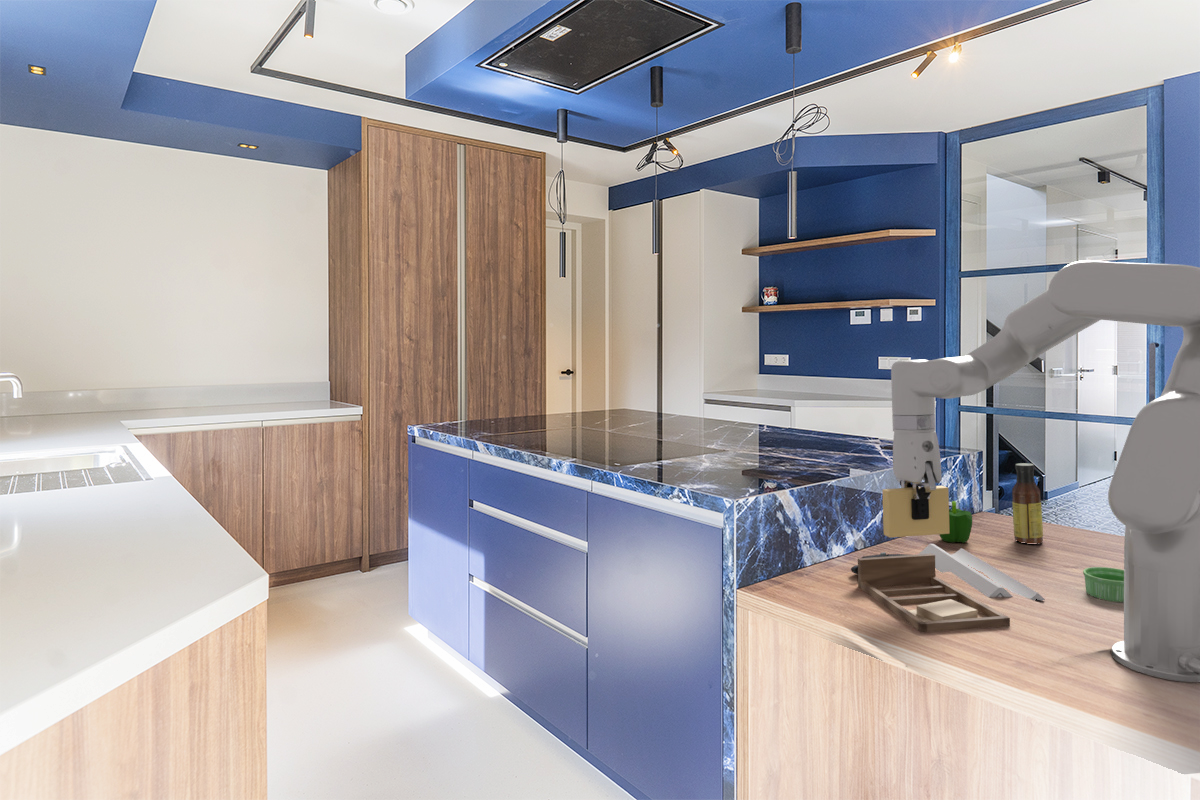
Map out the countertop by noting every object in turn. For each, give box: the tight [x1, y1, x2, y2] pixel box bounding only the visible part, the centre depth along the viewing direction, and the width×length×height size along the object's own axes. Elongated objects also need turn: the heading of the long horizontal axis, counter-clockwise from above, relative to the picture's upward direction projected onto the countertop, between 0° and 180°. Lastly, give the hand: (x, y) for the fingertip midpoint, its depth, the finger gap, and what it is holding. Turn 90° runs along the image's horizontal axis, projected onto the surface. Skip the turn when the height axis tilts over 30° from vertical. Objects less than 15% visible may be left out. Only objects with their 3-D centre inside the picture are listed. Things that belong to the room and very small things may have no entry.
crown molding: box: [918, 543, 1045, 601], centre depth 147 cm, size 31×12×4 cm, turn 177°
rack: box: [857, 553, 1011, 633], centre depth 129 cm, size 24×16×7 cm, turn 4°
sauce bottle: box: [1011, 462, 1044, 544], centre depth 170 cm, size 7×6×20 cm
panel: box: [881, 485, 950, 538], centre depth 132 cm, size 2×12×9 cm, turn 94°
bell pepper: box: [938, 500, 973, 543], centre depth 174 cm, size 8×8×10 cm
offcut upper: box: [916, 599, 979, 621], centre depth 123 cm, size 6×8×2 cm
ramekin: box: [1082, 566, 1124, 603], centre depth 133 cm, size 9×9×4 cm
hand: (916, 516), depth 132 cm, fingers closed on panel, 2 cm apart
